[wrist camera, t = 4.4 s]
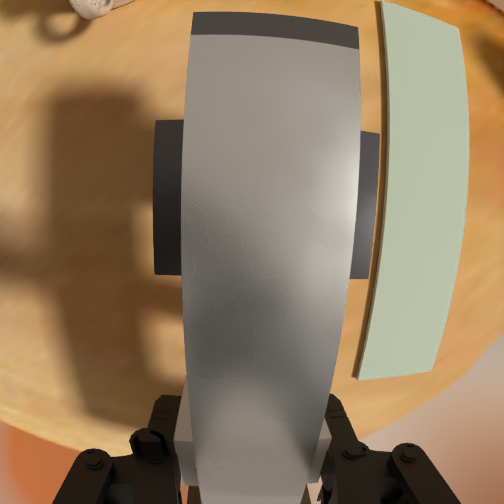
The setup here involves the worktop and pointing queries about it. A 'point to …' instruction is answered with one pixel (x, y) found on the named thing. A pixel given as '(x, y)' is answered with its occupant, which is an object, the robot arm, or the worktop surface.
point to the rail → (265, 243)
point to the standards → (169, 213)
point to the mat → (418, 194)
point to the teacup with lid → (96, 7)
